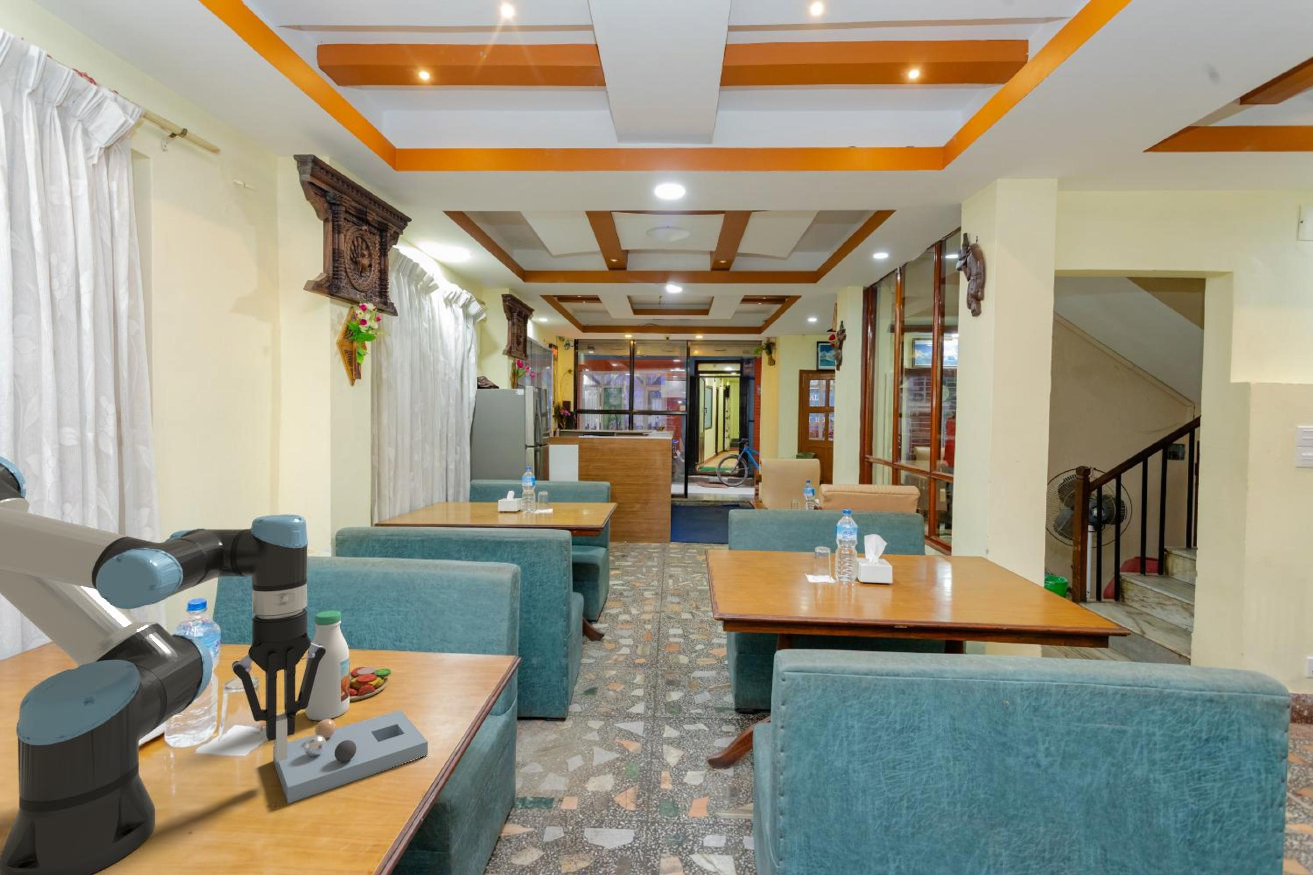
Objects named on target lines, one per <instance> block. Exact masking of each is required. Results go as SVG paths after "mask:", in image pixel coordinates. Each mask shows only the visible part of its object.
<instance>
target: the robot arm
mask: <svg viewBox="0 0 1313 875" xmlns="http://www.w3.org/2000/svg"><path fill="white" fill-rule="evenodd" d="M25 484H26V480H25V478H24V476H23V473H22V472H21V471H20V469H19V468H18V467H17V466H16V465H15V464H14V463H12V462H11V461H10V460H9V459H6V458H5V457H3V456H0V595H1V596H2V597H4V598H5V599H6V600H7V601H8V602H9V603H10V604H11V605H12V606H13V607H15V608H16V610H17V611H19V612H20V613H21V614H22V615H23V616H24V617H25V618H26V619H28V620H29V622H31V624H33V625H34V626H36V627H37V628H38V630H40V631H41V632H42V633H43V634H44V635H45V636H46V637H48V638H49V640H51V641H52V642H53V643H54V644H55V645H56V646H57V647H58V648H60V649H61V650H62V651H63V652H64V653H65V654H66V655H67V656H68V658H70V659H71V660H72V661H74V662H75V663H76V664H77V667H75V668H73V669H72V668H71V669H70V668H68V669H66V670H63V671H60V672H58V673H56V674H54V675H52V676H50V677H47V678H46V679H43V680H42V681H41V682H40V681H39V683H37V684H35V685H34V687H32V688H31V689H30V690H28V692H26V694H25V696H23V698H22V700H21V702H20V704H19V711H18V712H19V713H18V721H17V723H16V730H15V731H16V736H17V751H18V752H17V756H18V757H17V758H18V760H17V761H18V764H17V765H18V798H19V799H18V812H17V815H16V817H15V820H14V822H13V824H12V828H11V829H10V832H9V834H8V837H7V839H6V841H5V844H4V847H3V849H2V850H1V851H2V852H1V854H0V875H92V874H94V873H96V872H99V871H101V870H103V869H105V868H107V867H109V866H111V865H113V864H115V863H117V862H118V861H120V860H121V859H123V858H125V857H126V856H128V855H129V854H131V853H133V852H134V851H135V850H137V848H139V847H140V846H141V845H142V844H143V843H145V842H146V841H147V839H149V837H150V836H151V835H152V833H153V832H154V829H155V826H156V808H155V805H154V802H153V800H152V797H151V796H150V795H149V792H148V790H147V788H146V786H145V784H144V781H143V780H142V777H141V776H140V772H139V771H140V768H139V767H140V764H139V762H140V761H139V759H140V757H139V756H140V753H139V752H140V746H139V742H140V740H141V739H143V738H145V737H146V736H148V735H149V734H150V733H152V732H153V731H154V730H156V729H157V728H159V727H160V726H161V725H163V724H165V723H166V722H167V721H168V720H170V719H171V718H173V717H174V716H176V715H177V714H180V713H182V712H184V711H185V710H186V709H187V708H189V706H191V705H192V704H193V703H194V702H195V701H196V700H197V699H198V698H199V697H200V696H201V695H202V694H203V693H204V692H205V690H207V688H208V686H209V684H210V682H211V679H212V677H213V668H214V662H213V657H212V654H211V652H210V649H209V648H208V646H207V645H206V644H205V643H204V642H203V641H202V640H201V639H199V638H197V637H195V636H194V635H191V634H181V633H176V634H175V633H174V634H171V633H169V632H168V631H167V630H166V629H165V628H164V627H163V626H162V625H161V624H159V622H157V621H145V622H144V621H143V622H142V621H139V620H138V619H136V617H134V615H132V613H130V612H129V611H128V610H132V609H139V608H141V607H145V606H150V605H154V604H157V603H159V602H162V601H164V600H166V599H168V598H170V597H172V596H174V595H177V594H179V593H181V592H184V591H185V590H188V589H191V588H193V587H196V586H198V585H200V584H203V583H206V582H208V581H210V580H213V579H216V578H230V577H231V578H234V577H235V578H236V577H237V578H238V577H241V578H242V577H244V578H245V577H251V585H252V586H251V612H252V614H254V616H253V617H252V619H251V624H252V626H251V627H252V629H251V632H252V634H251V640H252V641H251V645H250V647H249V648H248V652H247V653H248V654H246V655H245V656H244V657H243V658H241V659H240V660H236V661H233V663H232V664H231V668H232V672H233V673H234V674H235V675H236V677H238V678H239V679H240V680H241V683H242V686H243V689H244V693H245V695H246V699H247V702H248V704H249V705H248V706H249V707H250V711H251V715H252V717H253V720H254V721H255V722H260V721H263V722H265V737H266V740H267V741H268V742H272V741H273V746H274V756H275V759H276V762H278V761H282V760H285V759H287V742H288V737H289V736H293V735H294V734H295V732H296V716H297V713H299V712H301V711H303V710H306V708H307V707H308V703H309V699H310V696H311V692H312V688H313V684H314V680H315V676H316V672H317V669H318V665H319V662H320V661H321V659H322V657H323V656H324V654H325V653H326V650H325V648H324V647H323V646H322V645H321V644H318V645H316V644H314V643H312V640H311V639H310V637H309V635H308V611H307V609H305V608H306V607H307V606H308V545H309V539H308V531H307V522H306V519H305V518H304V517H303V516H301V515H298V514H272V515H270V514H269V515H263V516H260V517H256V518H254V519H252V520H253V521H252V523H251V527H250V528H245V529H241V528H239V529H236V528H235V529H233V528H231V529H229V528H228V529H224V528H223V529H216V528H215V529H213V528H212V529H210V528H209V529H208V528H207V529H206V528H196V529H185V530H178V531H175V532H174V533H171V535H170V536H169V537H168V538H167V539H165V541H164V542H162V541H161V542H154V541H151V540H150V541H149V540H145V539H141V538H135V537H132V536H128V535H125V534H119V533H116V532H112V531H107V530H103V529H99V528H98V529H97V528H95V527H90V526H86V525H82V524H77V523H73V522H68V521H64V520H60V519H55V518H51V517H47V516H42V515H40V514H39V515H38V514H34V513H29V509H30V502H29V500H28V499H26V494H27V489H26V488H24V485H25ZM306 653H307V654H306ZM305 654H306V656H307V655H308V656H309V658H308V661H307V665H306V664H305V669H304V673H303V677H302V681H301V684H300V688H299V691H298V696H297V699H296V672H297V670H296V668H297V667H296V666H297V665H298V664H299V663H300V661H301V660H302V658H303V657H304V655H305ZM252 663H255V664H256V665H257V667H259V668H260V669H261V670H262V671H263V672H264V673H265V709H263V708H261V704H260V702H259V698H258V696H257V692H256V689H255V687H254V682H253V679H252V677H251V674H250V672H251V671H252V669H253V668H252ZM282 670H283V683H284V685H283V690H284V691H283V692H284V694H283V696H284V698H283V699H284V701H283V702H284V706H283V707H284V708H283V709H284V712H281V713H277V712H278V711H277V709H278V708H277V705H278V704H277V692H278V690H277V688H278V687H277V686H278V684H277V683H278V682H277V681H278V680H277V678H278V672H279V671H282Z"/></svg>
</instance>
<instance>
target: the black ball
mask: <svg viewBox="0 0 1313 875" xmlns="http://www.w3.org/2000/svg"><path fill="white" fill-rule="evenodd" d="M355 753H356V745H355V743H354V742H353V741H351V740H345V741H342V742H341V743H339V744H338V745H337V747H336V749H335V758H336V759H337V760H338V761H340V762H347V761H349V760H351V759H352V758H353V757H354V755H355Z"/></svg>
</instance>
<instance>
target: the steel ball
mask: <svg viewBox="0 0 1313 875" xmlns="http://www.w3.org/2000/svg"><path fill="white" fill-rule="evenodd" d="M313 735H314V736H312V737H310V738H309V739H308V740H307V741H306V743H305V745H304V750H305V753H306V754H307V755H309V756H317V755H319V754H321V753H322V752H323V751H324V749H325V747H326V740H325V738H324V737H323V736H321V735H315V734H313Z"/></svg>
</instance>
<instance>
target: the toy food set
mask: <svg viewBox="0 0 1313 875" xmlns="http://www.w3.org/2000/svg"><path fill="white" fill-rule="evenodd" d="M391 675H392V670H391V669H389V668H380V669H377V668H376V667H374V666H368V667H365V666H359V667H356V668H354V669H353V670H352V671H351V672H350V702H354V701H361V700H364V699H363V698H365V699H368V698H370V696H371V697H373V696H375V695H377V694H379V693H380V691H381V690H382V691H383V690H384V689H385V688H386V687H387V686H388V684H389V678H388V677H389V676H391ZM382 691H381V692H382ZM376 693H377V694H376ZM374 694H375V695H374ZM372 695H373V696H372ZM367 697H368V698H367ZM360 699H361V700H360Z"/></svg>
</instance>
